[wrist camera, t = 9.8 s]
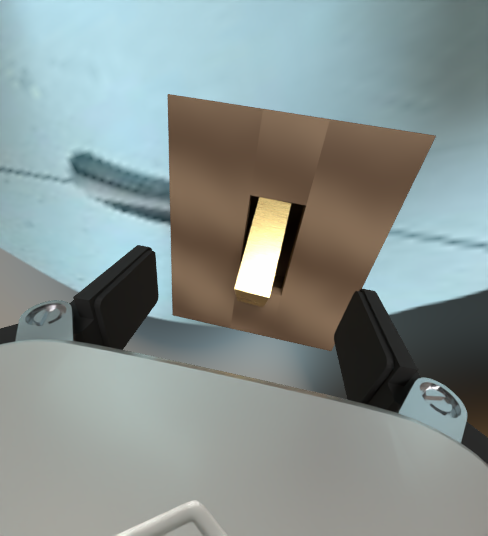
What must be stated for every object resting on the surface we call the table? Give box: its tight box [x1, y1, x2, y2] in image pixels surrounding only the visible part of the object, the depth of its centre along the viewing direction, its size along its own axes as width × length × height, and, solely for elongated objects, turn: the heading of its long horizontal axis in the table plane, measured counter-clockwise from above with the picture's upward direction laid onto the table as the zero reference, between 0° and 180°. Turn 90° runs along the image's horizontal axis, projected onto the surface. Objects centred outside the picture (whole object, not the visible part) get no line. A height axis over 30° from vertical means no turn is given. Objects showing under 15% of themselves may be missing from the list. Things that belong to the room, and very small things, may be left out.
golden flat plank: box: [234, 197, 291, 307], centre depth 16 cm, size 5×2×6 cm
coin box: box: [168, 94, 436, 351], centre depth 21 cm, size 16×14×10 cm
